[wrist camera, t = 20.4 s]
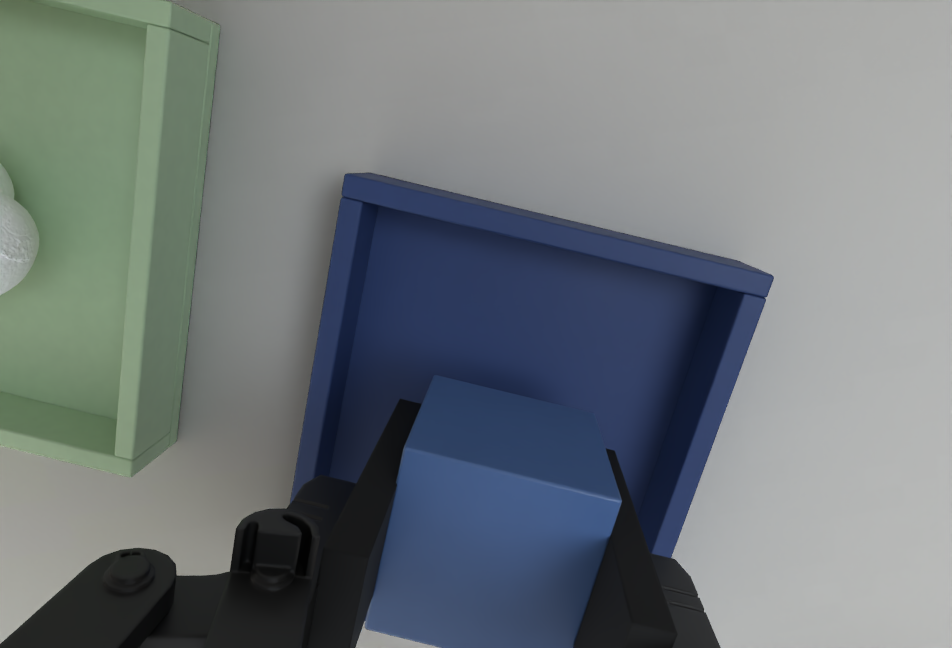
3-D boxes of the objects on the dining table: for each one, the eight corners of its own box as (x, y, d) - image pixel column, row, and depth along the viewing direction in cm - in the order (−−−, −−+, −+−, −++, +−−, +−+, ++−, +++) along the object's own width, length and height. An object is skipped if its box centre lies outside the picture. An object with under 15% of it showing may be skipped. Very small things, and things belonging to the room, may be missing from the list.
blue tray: (368, 172, 18) (344, 172, 15) (740, 261, 18) (775, 276, 15) (301, 550, 21) (273, 599, 19) (612, 626, 21) (624, 686, 19)
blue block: (434, 373, 16) (403, 447, 12) (595, 412, 16) (623, 500, 12) (401, 516, 17) (363, 630, 13) (552, 552, 17) (564, 679, 13)
